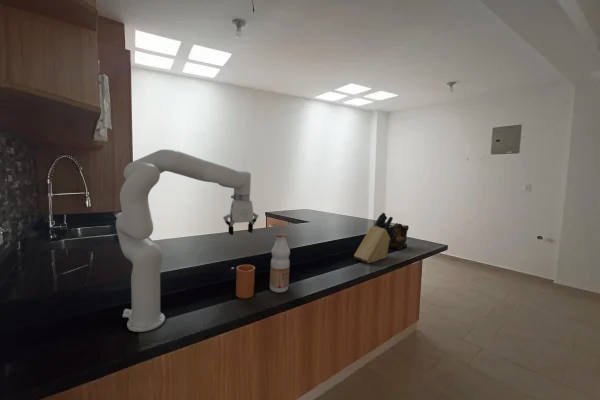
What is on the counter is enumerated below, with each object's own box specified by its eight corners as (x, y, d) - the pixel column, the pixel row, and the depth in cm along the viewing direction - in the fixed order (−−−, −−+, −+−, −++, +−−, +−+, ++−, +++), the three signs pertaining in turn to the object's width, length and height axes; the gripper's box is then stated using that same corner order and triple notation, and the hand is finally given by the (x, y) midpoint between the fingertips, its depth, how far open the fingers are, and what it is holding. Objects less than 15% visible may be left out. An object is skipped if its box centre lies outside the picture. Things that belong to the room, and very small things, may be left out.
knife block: (394, 255, 212) (399, 213, 208) (367, 265, 188) (371, 218, 184) (380, 251, 220) (384, 211, 216) (352, 260, 196) (356, 215, 192)
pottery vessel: (393, 251, 221) (396, 226, 218) (380, 248, 228) (383, 223, 226) (409, 246, 237) (412, 223, 235) (397, 243, 245) (399, 220, 243)
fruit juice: (268, 292, 141) (271, 236, 138) (270, 284, 151) (273, 231, 147) (287, 293, 141) (290, 237, 138) (288, 285, 151) (291, 232, 147)
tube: (233, 297, 134) (234, 270, 132) (238, 289, 142) (239, 264, 141) (251, 299, 134) (252, 271, 132) (255, 291, 142) (256, 265, 140)
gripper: (227, 199, 128) (226, 237, 130) (262, 198, 138) (260, 233, 141) (221, 197, 134) (220, 233, 136) (254, 196, 144) (253, 229, 147)
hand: (240, 233), depth 138 cm, fingers open, 9 cm apart
